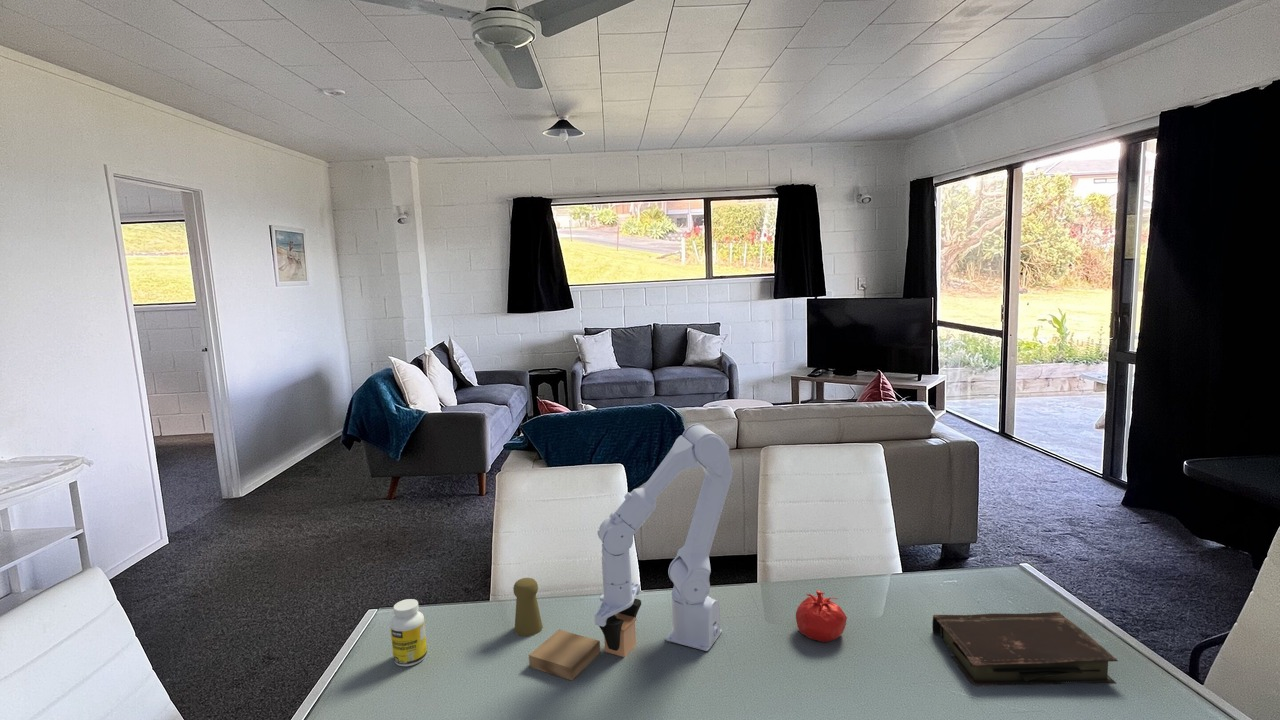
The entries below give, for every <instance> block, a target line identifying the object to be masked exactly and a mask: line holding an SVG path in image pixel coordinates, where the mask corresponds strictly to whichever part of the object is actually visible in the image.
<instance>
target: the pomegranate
mask: <svg viewBox="0 0 1280 720" xmlns="http://www.w3.org/2000/svg"><path fill="white" fill-rule="evenodd" d="M815 591H816V592H815V593H816V596H815V595H813V594H810V593H809V594H808V593H806V594H805V595H806V596H807V597H806V598H805V599H803V600H802V602H801V603H800V604H799V605H798V607H797V608H796V612H795V622H796V627H797V629H798V631H799V632H800V633H801V634H802V635H804V636H806V637H807V638H809V639H811V640H814V641H818V642H821V643H826V642H832V641H834V640H836V639H838V638H839V637H840V636H842V635H843V633H844V631H845V629H846V625H847V614H846V613H845V612H844V611H843V609H842V608H841V606H840V605H839V604H837V603H836V602H834V601H832V600H831V599H836V600H838V599H839V598H838V597H834V596H833V597H824V595H825V592H822V591H821V590H820V589H816V590H815Z"/></svg>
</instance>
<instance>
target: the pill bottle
mask: <svg viewBox="0 0 1280 720" xmlns="http://www.w3.org/2000/svg"><path fill="white" fill-rule="evenodd" d="M419 608H420V607H419V601H418V600H417V599H414V598H407V599H403V600H399V601H398V602H396V603H395V604H394V605H393V615H394V616H393V617H392V619H391V620H390V623H389V624H390V627H389V628H390V635H391V638H390V639H391V649H392V657H393V662H394V663H395V664H396V665H397V666H399V667H410V666H412V667H413V666H415V665H417V664H419V663H421V662H422V661H423V660H424V659H425V658H426V657H427V654H428V648H427V647H428V645H427V635H426V623H425V616H424V614H423V613H422V612H421V611H420V610H419Z"/></svg>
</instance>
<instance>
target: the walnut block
mask: <svg viewBox="0 0 1280 720" xmlns="http://www.w3.org/2000/svg"><path fill="white" fill-rule="evenodd" d="M600 653H601V641H600V640H598V639H594V638H591V637H588V636H583V635H581V634H576V633H573V632H569V631H565V630H562V629H558V630H557V631H555V632H554V633H553V634H552V635H550V637H548V638H547V639H546V640H545V641H544V642H543V643H541V644H540V645H539V646H538V647H536V649H534V650H533V651H532V652H531V653H529V654H528V660H529V661H528V662H529V668H531V669H535V670H538V671H541V672H544V673H546V674H547V673H548V674H550V675H554V676H557V677H560V678H562V679H567V680H569V681H573V680H574V679H575V678H576V677H577V676H578V675H579V674H580V673H582V671H583V670H584V669H585V668H586V667H587V666H588V665H590V663H591V662H592V661H593V660H595V659H596V657H597V656H598V655H599V654H600Z"/></svg>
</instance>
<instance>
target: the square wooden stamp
mask: <svg viewBox="0 0 1280 720" xmlns="http://www.w3.org/2000/svg"><path fill="white" fill-rule="evenodd" d="M615 616H617V618H618V619H622V620H624V622H623V624H622V627H621V631H620V645H619V649H618V650H617V651H615V650H612V649H609V648H608V645H607V642H606V639H605V636H604V635H603V637H604V639H603V640H604V652H606V653H609V654H612V655H616V656H619V657H623V658H626V657H627V656H628V655H629V654H630V653H631V652H632V651H633V649H634V648H635V647H636V646H637V636H636V634H637V633H636V622H637V616H636V617H632V616H628V615H624V614H620V613H617V614H615Z"/></svg>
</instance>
